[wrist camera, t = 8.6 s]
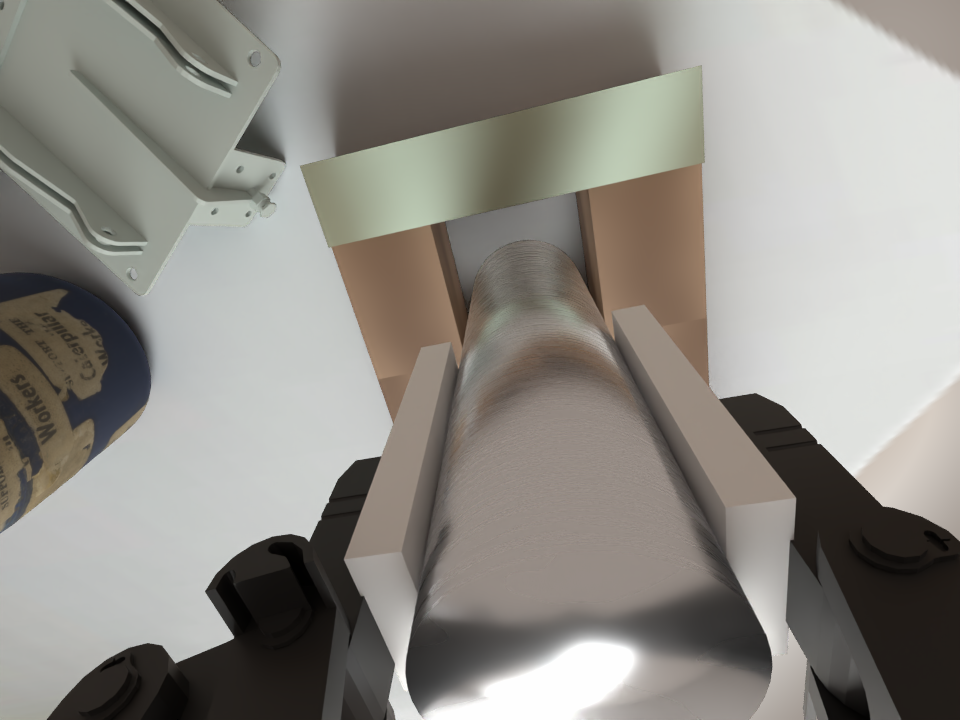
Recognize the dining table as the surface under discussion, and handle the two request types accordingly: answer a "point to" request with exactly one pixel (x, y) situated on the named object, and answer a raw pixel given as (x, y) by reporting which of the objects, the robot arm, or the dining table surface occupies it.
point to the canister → (60, 386)
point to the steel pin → (569, 532)
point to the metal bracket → (134, 122)
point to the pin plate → (517, 180)
